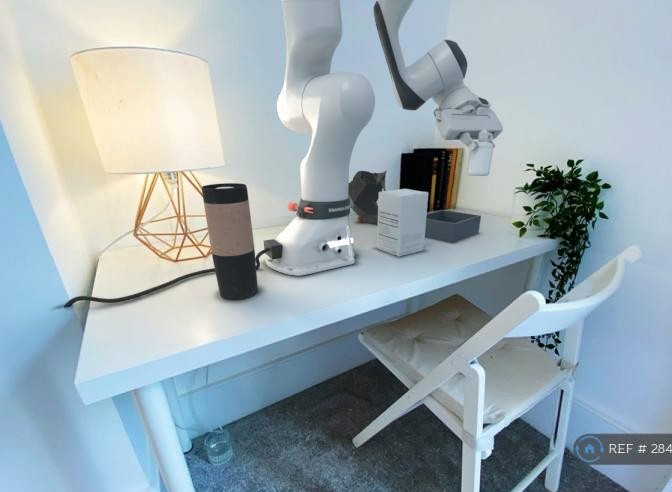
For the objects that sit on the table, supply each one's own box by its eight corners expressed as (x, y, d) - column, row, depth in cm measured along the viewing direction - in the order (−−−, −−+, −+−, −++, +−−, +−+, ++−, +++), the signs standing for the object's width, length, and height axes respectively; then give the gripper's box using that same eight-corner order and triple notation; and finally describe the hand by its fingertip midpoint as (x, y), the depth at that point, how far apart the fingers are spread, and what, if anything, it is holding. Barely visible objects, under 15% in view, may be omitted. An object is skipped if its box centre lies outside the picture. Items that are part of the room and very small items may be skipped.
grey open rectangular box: (452, 243, 95) (455, 223, 93) (413, 234, 104) (414, 216, 102) (478, 233, 104) (481, 215, 102) (440, 226, 113) (442, 209, 111)
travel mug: (210, 294, 65) (190, 186, 57) (240, 281, 71) (227, 182, 63) (237, 304, 61) (220, 190, 53) (267, 289, 67) (256, 184, 59)
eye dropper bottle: (483, 176, 89) (491, 126, 84) (463, 175, 93) (470, 126, 88) (491, 175, 91) (499, 126, 87) (471, 174, 95) (478, 126, 90)
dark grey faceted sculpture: (366, 216, 129) (367, 166, 121) (399, 222, 118) (402, 168, 111) (339, 222, 120) (339, 168, 113) (372, 229, 110) (374, 171, 102)
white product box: (400, 243, 95) (404, 188, 89) (424, 251, 88) (430, 191, 82) (375, 248, 91) (377, 191, 85) (398, 257, 84) (402, 195, 78)
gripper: (438, 97, 85) (463, 140, 82) (492, 100, 94) (517, 139, 90) (424, 118, 91) (447, 159, 87) (477, 119, 100) (500, 156, 96)
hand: (483, 148), depth 89 cm, fingers closed on eye dropper bottle, 5 cm apart
